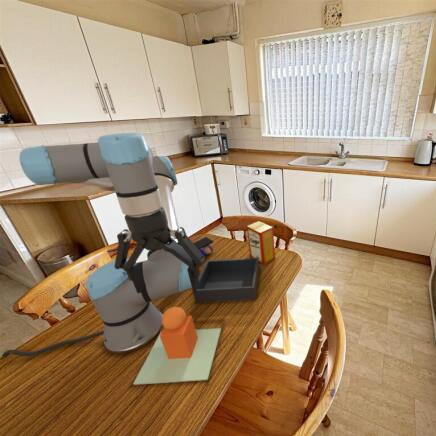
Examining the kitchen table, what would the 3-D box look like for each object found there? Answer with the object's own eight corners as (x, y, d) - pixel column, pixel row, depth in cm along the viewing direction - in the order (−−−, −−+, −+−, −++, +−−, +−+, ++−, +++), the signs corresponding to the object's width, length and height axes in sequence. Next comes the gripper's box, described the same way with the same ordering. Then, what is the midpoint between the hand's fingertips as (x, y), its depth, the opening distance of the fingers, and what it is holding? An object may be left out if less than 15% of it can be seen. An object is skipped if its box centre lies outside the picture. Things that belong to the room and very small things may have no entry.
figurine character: (188, 271, 101) (217, 252, 110) (182, 257, 97) (213, 239, 106) (180, 265, 105) (209, 248, 114) (174, 252, 101) (205, 235, 110)
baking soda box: (275, 258, 105) (272, 226, 98) (263, 265, 101) (260, 232, 94) (261, 251, 111) (258, 220, 104) (250, 257, 107) (246, 225, 100)
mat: (133, 384, 58) (133, 383, 58) (165, 324, 74) (165, 323, 74) (207, 380, 58) (207, 379, 58) (223, 320, 75) (223, 320, 75)
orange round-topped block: (168, 359, 63) (153, 320, 57) (177, 339, 69) (164, 302, 63) (191, 357, 64) (178, 318, 57) (198, 338, 69) (187, 300, 63)
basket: (195, 303, 82) (192, 290, 80) (209, 271, 98) (207, 260, 96) (255, 300, 82) (253, 287, 80) (259, 269, 98) (258, 257, 96)
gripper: (208, 202, 54) (222, 276, 63) (97, 206, 54) (127, 280, 63) (197, 215, 47) (214, 297, 56) (70, 220, 47) (108, 301, 56)
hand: (169, 288), depth 60 cm, fingers open, 13 cm apart
